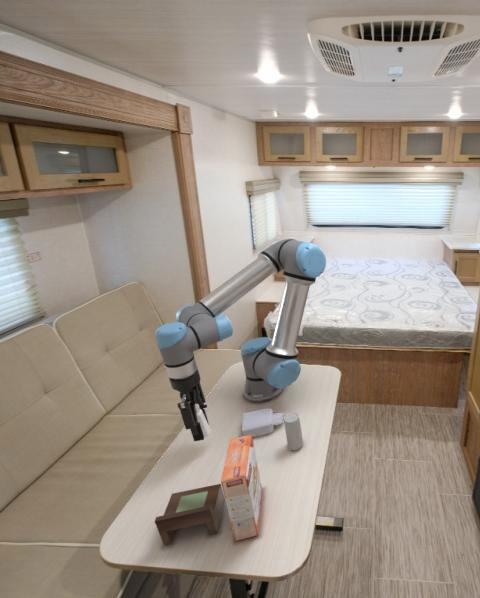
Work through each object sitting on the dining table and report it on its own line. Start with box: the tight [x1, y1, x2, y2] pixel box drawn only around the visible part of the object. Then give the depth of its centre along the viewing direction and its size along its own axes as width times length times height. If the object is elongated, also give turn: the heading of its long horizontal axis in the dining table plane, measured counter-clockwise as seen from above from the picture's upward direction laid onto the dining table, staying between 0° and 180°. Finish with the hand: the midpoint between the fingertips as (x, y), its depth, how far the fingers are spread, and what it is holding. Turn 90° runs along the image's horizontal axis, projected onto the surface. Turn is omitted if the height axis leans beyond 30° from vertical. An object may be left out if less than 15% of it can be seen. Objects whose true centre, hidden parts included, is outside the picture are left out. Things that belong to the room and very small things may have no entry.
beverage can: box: [283, 412, 304, 451], centre depth 112 cm, size 5×5×12 cm
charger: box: [241, 407, 288, 438], centre depth 122 cm, size 5×9×15 cm
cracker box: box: [220, 435, 263, 542], centre depth 88 cm, size 14×6×21 cm, turn 17°
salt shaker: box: [195, 404, 212, 438], centre depth 108 cm, size 5×5×11 cm
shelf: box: [154, 483, 226, 547], centre depth 89 cm, size 10×12×9 cm
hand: (201, 432), depth 110 cm, fingers closed on salt shaker, 5 cm apart
